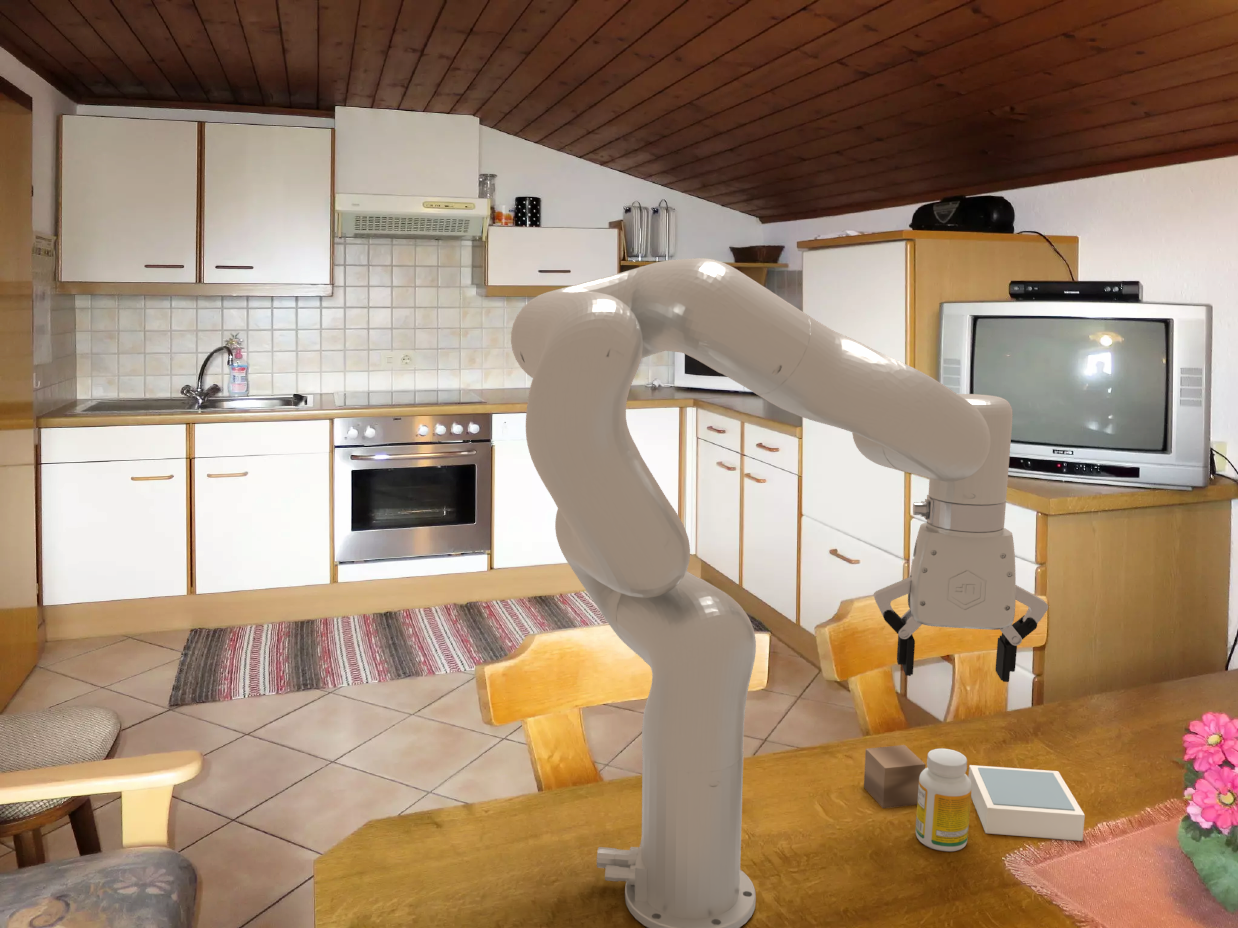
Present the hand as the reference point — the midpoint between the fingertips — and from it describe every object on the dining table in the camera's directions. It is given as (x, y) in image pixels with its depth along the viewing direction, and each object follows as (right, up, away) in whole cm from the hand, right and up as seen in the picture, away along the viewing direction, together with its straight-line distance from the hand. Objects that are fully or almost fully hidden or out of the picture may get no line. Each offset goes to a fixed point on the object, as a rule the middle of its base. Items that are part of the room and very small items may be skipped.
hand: (954, 673), depth 104 cm
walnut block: (-3, -17, +12) cm, 21 cm away
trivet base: (+10, -18, +8) cm, 22 cm away
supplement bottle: (-1, -19, +3) cm, 19 cm away
